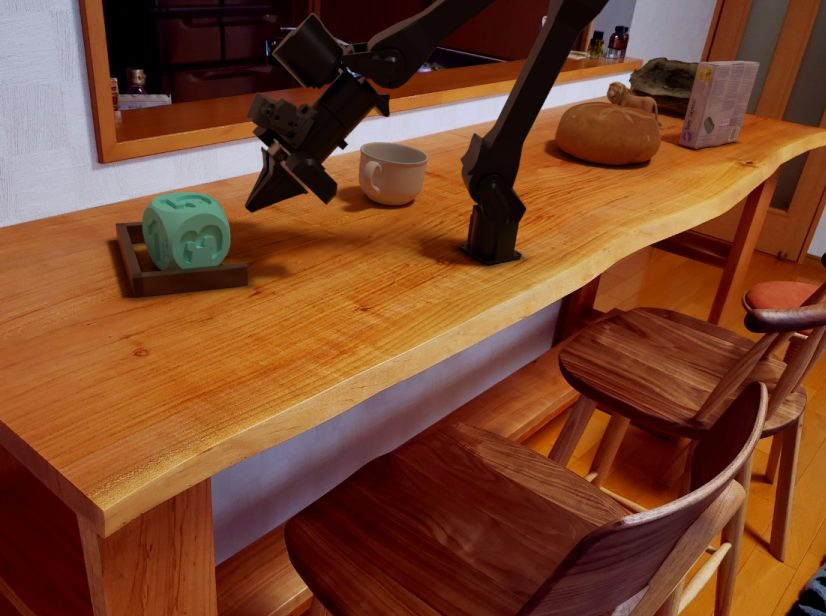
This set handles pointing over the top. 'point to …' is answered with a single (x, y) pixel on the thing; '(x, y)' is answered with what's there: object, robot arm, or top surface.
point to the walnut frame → (173, 278)
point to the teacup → (391, 172)
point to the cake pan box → (718, 103)
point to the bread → (608, 133)
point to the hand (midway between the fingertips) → (247, 209)
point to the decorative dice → (185, 231)
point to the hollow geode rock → (665, 82)
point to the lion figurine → (630, 99)
